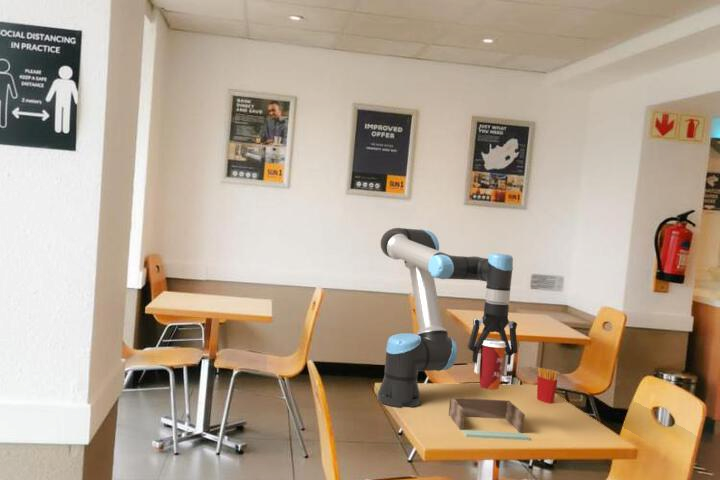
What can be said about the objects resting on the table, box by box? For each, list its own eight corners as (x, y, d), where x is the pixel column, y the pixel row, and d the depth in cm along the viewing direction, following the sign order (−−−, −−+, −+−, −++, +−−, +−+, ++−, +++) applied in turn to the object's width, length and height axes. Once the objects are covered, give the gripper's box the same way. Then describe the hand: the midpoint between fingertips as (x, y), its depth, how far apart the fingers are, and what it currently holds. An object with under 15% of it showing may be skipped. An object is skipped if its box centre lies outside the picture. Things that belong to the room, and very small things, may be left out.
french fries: (556, 403, 231) (560, 371, 231) (549, 404, 229) (553, 372, 228) (539, 396, 238) (542, 366, 238) (532, 397, 236) (535, 366, 236)
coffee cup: (502, 392, 189) (507, 344, 189) (475, 388, 191) (480, 340, 190) (501, 385, 198) (506, 339, 197) (476, 382, 199) (480, 336, 199)
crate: (448, 418, 201) (450, 397, 201) (507, 421, 203) (509, 400, 203) (459, 433, 187) (461, 410, 187) (522, 436, 189) (524, 414, 189)
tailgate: (460, 429, 187) (466, 434, 181) (522, 433, 189) (529, 437, 183) (460, 433, 187) (466, 438, 181) (522, 437, 189) (529, 441, 183)
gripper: (524, 303, 198) (517, 372, 199) (461, 298, 196) (454, 368, 197) (533, 306, 191) (526, 378, 192) (467, 301, 189) (461, 374, 189)
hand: (490, 373), depth 194 cm, fingers closed on coffee cup, 8 cm apart
